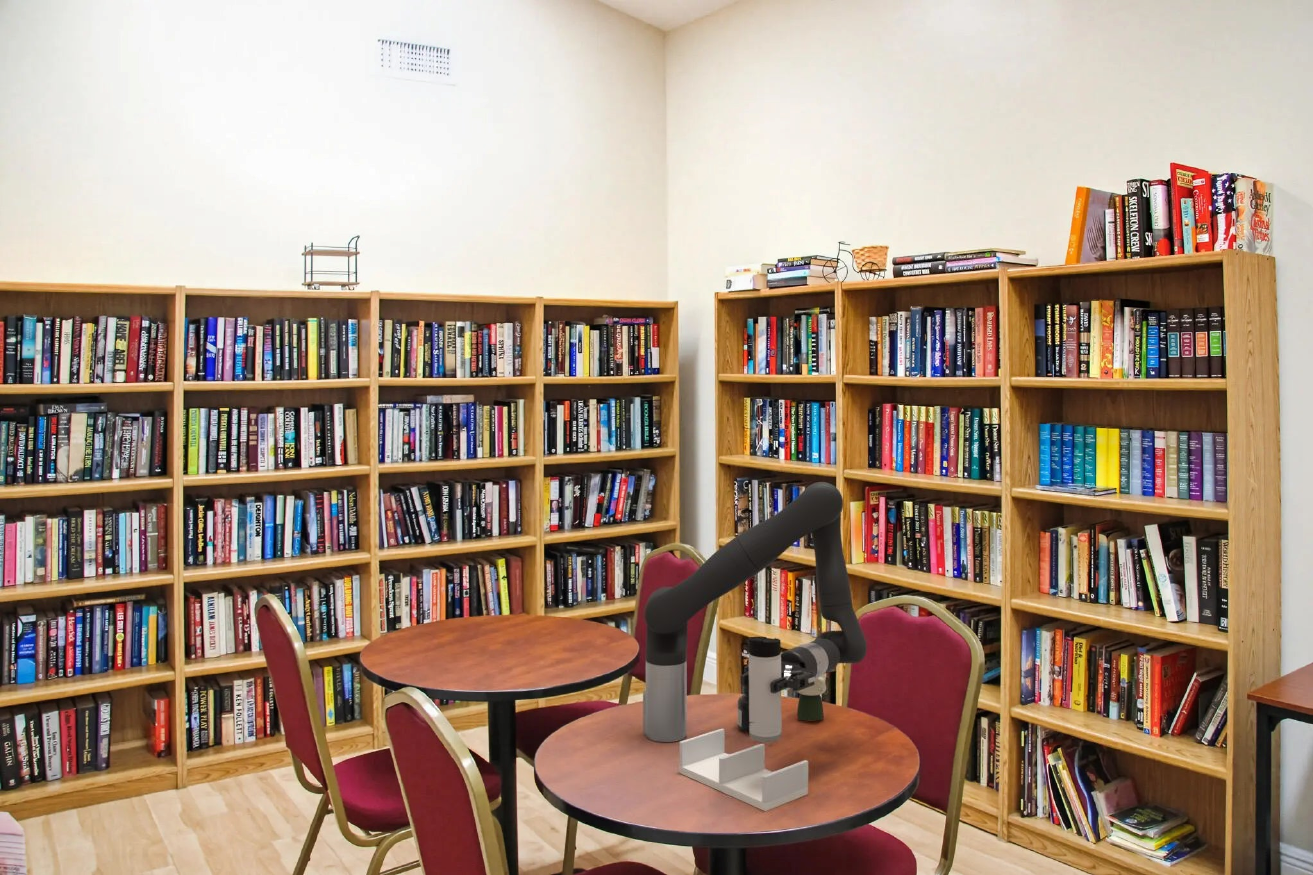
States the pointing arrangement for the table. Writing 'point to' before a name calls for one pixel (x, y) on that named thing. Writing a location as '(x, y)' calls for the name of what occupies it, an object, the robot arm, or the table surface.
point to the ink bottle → (743, 710)
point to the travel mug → (764, 689)
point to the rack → (741, 772)
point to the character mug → (812, 701)
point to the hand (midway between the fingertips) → (757, 684)
